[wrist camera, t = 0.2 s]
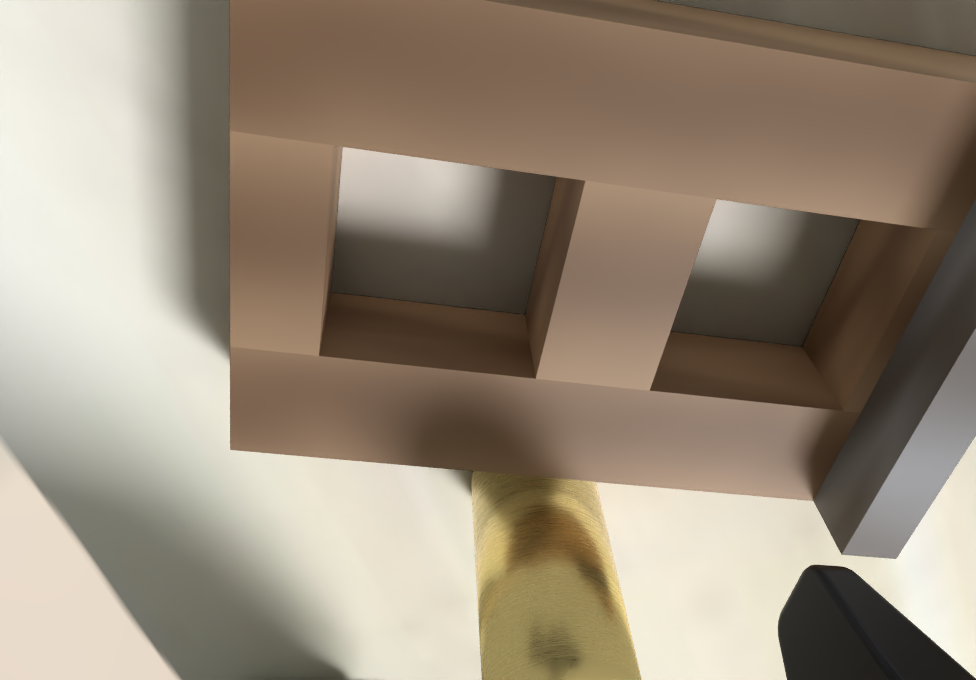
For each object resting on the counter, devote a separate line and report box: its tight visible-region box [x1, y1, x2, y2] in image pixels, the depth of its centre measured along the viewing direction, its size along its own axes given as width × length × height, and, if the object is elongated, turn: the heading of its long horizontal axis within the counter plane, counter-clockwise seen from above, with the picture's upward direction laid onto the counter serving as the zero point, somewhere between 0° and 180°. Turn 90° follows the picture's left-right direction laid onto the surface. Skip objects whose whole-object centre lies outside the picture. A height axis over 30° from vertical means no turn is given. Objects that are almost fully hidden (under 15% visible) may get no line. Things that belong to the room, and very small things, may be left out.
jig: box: [230, 0, 976, 559], centre depth 20 cm, size 12×18×5 cm, turn 80°
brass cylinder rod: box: [471, 471, 641, 680], centre depth 24 cm, size 4×4×8 cm
